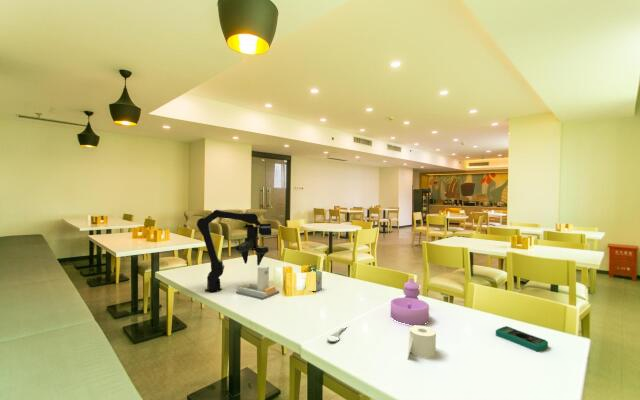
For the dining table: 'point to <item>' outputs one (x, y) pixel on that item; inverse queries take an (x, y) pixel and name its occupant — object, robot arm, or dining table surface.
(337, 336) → the spoon
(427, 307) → the container set
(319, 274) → the ink box
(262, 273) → the rail module
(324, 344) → the dining table surface
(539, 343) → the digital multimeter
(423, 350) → the toilet paper
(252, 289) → the rail mount
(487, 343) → the dining table surface
